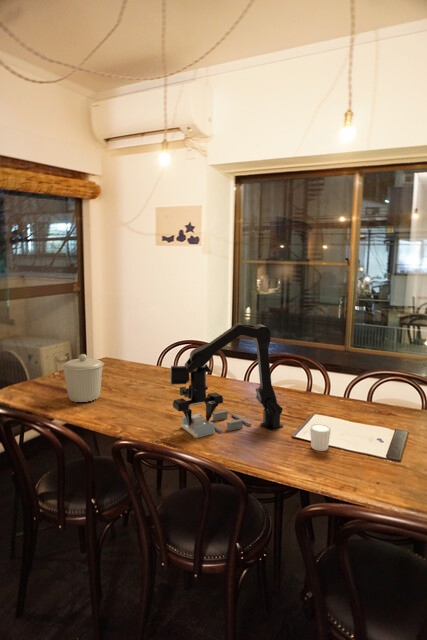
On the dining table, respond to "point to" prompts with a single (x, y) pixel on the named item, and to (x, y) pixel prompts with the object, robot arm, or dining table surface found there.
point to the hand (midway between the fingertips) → (198, 423)
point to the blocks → (231, 424)
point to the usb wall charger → (196, 421)
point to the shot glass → (320, 437)
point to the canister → (83, 378)
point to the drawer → (198, 428)
